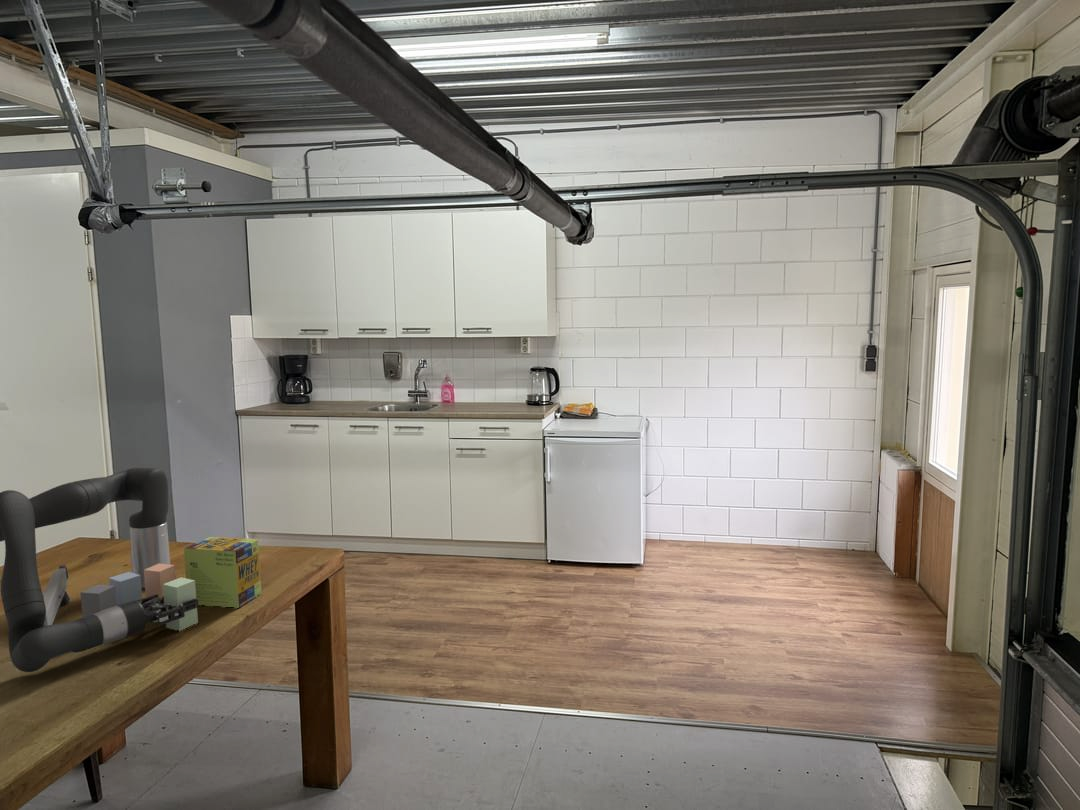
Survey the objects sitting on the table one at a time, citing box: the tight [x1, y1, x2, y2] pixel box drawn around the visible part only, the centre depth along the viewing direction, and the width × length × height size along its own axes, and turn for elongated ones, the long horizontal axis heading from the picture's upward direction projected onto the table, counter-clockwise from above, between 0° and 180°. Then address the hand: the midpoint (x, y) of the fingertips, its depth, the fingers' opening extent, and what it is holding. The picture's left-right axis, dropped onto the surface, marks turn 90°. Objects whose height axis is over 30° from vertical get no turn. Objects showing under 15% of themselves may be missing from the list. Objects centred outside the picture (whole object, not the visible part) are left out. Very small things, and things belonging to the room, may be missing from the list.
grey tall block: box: [79, 584, 117, 618], centre depth 171 cm, size 5×5×11 cm
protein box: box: [183, 536, 262, 609], centre depth 190 cm, size 10×15×16 cm
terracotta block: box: [144, 563, 177, 601], centre depth 185 cm, size 5×5×11 cm
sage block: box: [163, 577, 199, 632], centre depth 174 cm, size 5×5×11 cm
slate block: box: [108, 571, 143, 605], centre depth 179 cm, size 5×5×11 cm
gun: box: [43, 564, 71, 626], centre depth 181 cm, size 2×25×10 cm, turn 21°
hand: (188, 599), depth 176 cm, fingers open, 7 cm apart
